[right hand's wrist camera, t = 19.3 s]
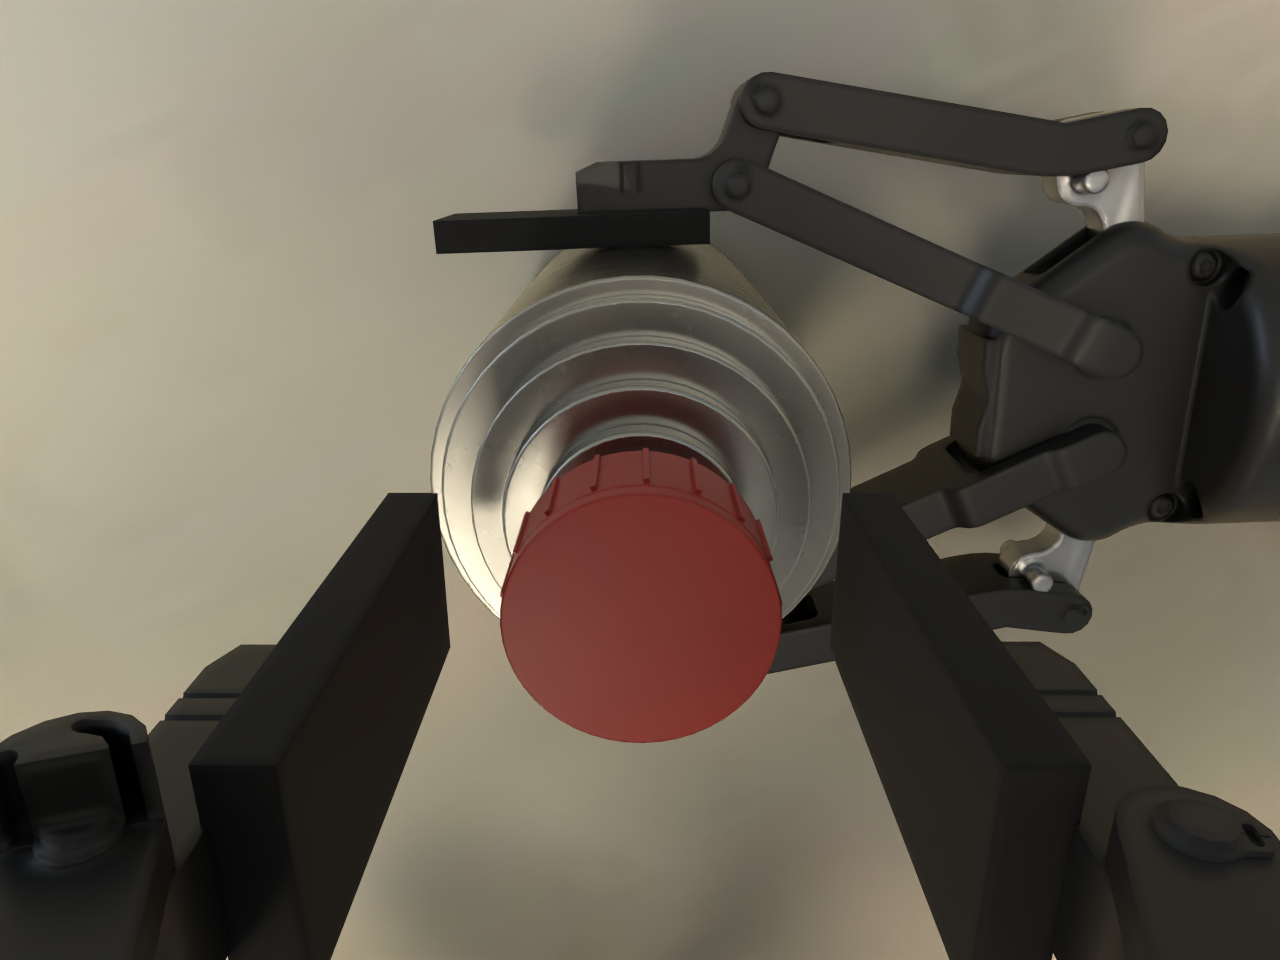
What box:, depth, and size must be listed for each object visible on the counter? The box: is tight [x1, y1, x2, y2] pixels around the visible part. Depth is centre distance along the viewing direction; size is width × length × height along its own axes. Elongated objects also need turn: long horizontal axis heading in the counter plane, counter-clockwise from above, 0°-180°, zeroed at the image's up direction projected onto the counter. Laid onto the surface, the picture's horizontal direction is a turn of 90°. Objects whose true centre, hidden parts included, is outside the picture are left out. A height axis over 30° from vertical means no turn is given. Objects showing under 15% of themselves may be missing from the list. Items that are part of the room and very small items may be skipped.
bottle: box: [430, 244, 851, 619], centre depth 21 cm, size 8×8×18 cm
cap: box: [500, 448, 782, 743], centre depth 13 cm, size 4×4×2 cm
